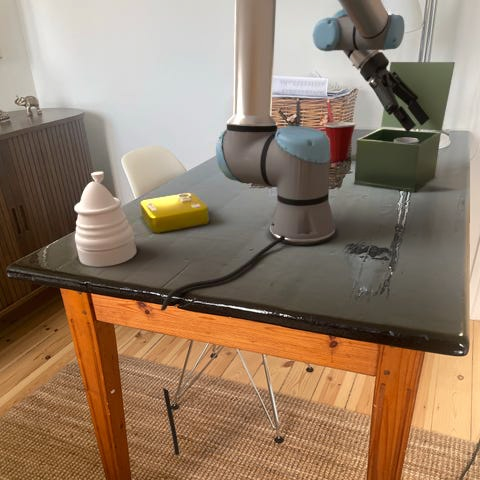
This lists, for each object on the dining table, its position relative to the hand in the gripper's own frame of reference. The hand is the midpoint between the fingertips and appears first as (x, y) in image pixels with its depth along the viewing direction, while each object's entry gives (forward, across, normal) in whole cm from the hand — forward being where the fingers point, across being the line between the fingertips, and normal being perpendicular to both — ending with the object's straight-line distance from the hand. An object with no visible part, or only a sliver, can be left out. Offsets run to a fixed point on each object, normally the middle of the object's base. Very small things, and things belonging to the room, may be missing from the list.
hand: (418, 125), depth 140 cm
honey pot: (-16, +81, -40) cm, 92 cm away
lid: (-8, -9, +1) cm, 12 cm away
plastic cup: (-11, -16, -34) cm, 39 cm away
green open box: (+8, 0, -15) cm, 17 cm away
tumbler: (+9, 0, -13) cm, 16 cm away
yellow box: (-17, +57, -41) cm, 72 cm away
